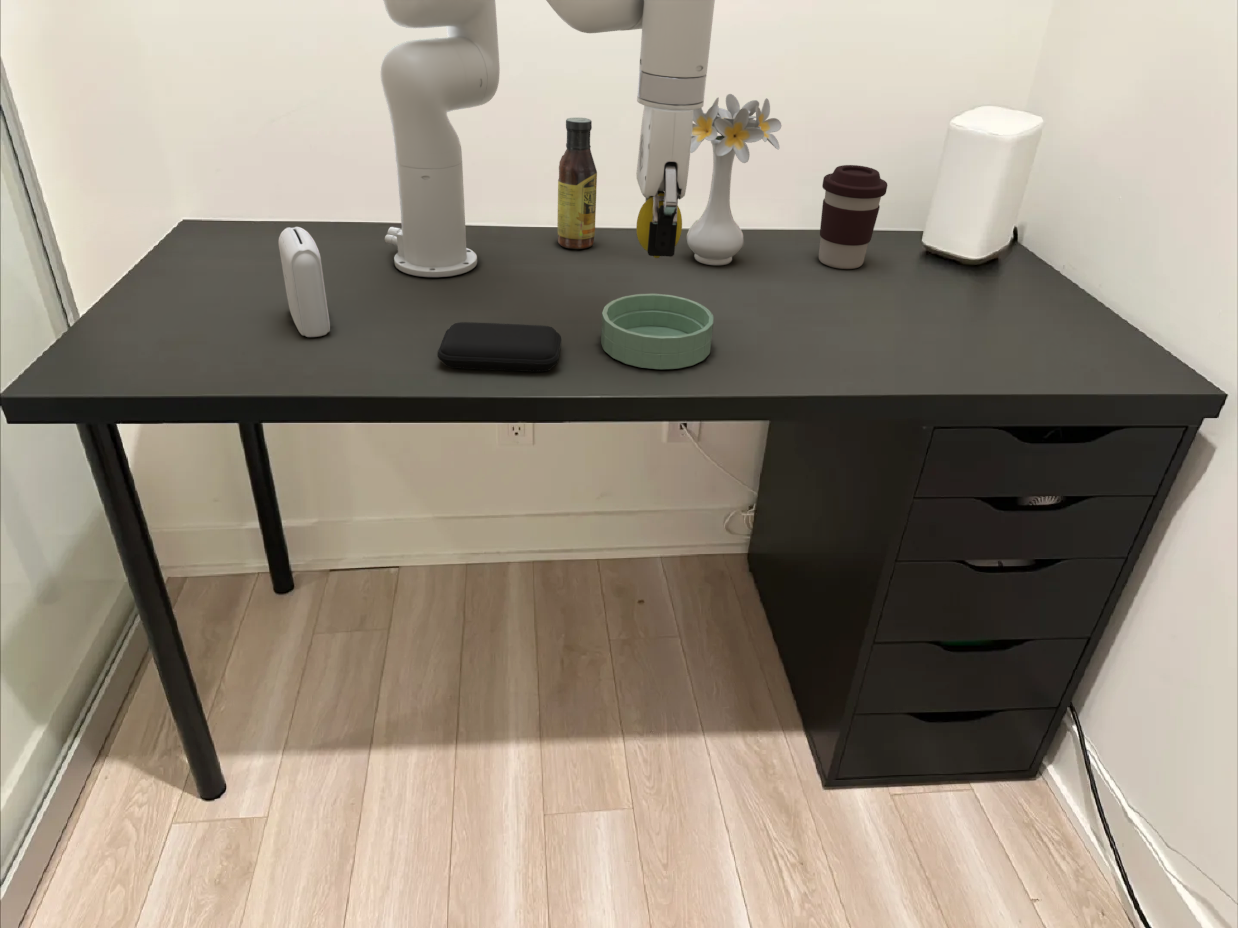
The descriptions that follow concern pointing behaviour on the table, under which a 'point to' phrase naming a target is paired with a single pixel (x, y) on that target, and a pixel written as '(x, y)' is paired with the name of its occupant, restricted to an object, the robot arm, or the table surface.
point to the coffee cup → (849, 214)
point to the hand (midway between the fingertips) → (657, 244)
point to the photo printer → (304, 282)
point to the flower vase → (725, 172)
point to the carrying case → (500, 346)
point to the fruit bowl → (656, 331)
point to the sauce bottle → (577, 188)
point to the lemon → (647, 217)
